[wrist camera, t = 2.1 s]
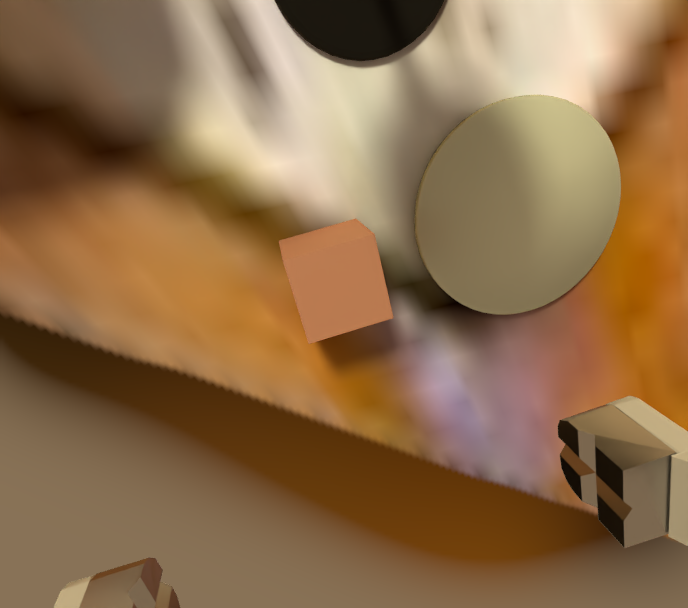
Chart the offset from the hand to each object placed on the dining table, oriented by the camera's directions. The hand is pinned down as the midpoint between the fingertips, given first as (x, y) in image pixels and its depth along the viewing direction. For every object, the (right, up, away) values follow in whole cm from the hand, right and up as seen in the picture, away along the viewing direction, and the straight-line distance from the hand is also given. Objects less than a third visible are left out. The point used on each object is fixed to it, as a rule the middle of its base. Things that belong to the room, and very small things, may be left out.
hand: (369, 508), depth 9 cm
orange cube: (-2, +6, +21) cm, 22 cm away
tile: (+11, +10, +21) cm, 26 cm away
